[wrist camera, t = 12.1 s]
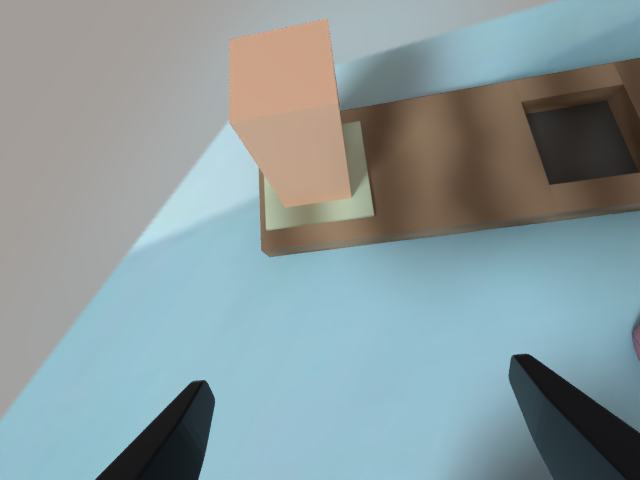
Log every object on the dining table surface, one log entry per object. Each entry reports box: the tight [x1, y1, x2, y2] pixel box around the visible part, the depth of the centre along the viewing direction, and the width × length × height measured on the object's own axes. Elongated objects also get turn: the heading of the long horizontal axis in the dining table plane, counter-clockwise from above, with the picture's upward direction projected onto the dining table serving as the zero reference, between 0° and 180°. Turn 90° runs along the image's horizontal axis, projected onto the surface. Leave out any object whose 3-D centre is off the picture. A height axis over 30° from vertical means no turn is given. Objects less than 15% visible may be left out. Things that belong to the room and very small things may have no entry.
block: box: [229, 19, 351, 208], centre depth 20 cm, size 5×5×10 cm
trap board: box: [259, 58, 640, 257], centre depth 24 cm, size 30×11×2 cm, turn 95°
